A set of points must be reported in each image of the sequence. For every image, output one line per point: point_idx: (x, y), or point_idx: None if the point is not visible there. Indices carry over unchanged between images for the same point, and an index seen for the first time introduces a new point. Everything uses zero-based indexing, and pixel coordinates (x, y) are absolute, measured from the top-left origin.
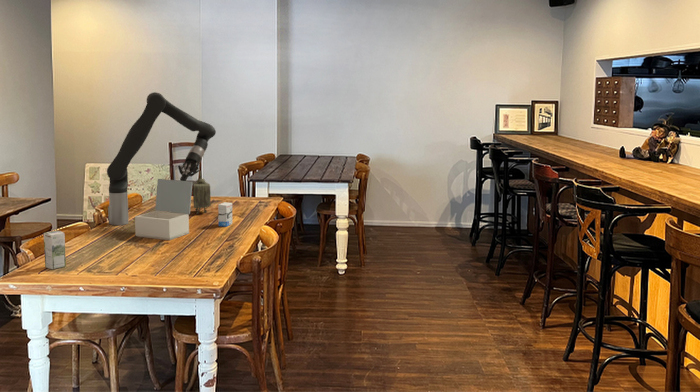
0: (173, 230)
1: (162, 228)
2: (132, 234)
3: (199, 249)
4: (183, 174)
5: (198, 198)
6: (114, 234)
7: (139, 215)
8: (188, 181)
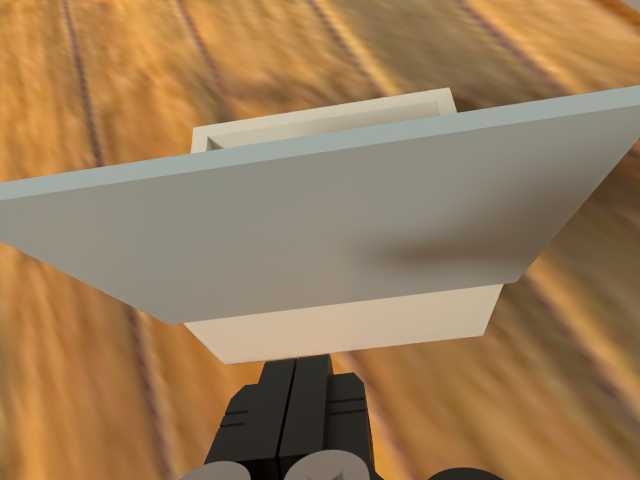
0: None
1: None
2: None
3: (35, 170)
4: (313, 470)
5: None
6: None
7: (449, 113)
8: (3, 183)
